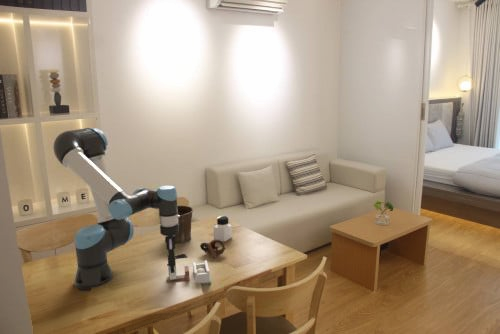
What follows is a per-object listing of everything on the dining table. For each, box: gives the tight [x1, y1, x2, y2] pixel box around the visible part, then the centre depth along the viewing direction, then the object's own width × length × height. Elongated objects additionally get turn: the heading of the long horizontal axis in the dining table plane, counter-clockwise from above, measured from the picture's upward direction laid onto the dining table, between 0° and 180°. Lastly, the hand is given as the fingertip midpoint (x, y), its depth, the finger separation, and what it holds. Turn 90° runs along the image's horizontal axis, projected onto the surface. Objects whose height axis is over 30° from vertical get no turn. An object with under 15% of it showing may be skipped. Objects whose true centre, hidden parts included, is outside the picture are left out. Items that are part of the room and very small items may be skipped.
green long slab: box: [192, 260, 212, 286], centre depth 167 cm, size 31×10×6 cm, turn 102°
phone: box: [175, 253, 189, 260], centre depth 186 cm, size 8×1×15 cm
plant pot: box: [173, 205, 194, 244], centre depth 212 cm, size 16×16×16 cm
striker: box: [166, 253, 191, 283], centre depth 167 cm, size 9×5×11 cm, turn 102°
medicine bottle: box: [213, 215, 233, 243], centre depth 212 cm, size 7×7×12 cm
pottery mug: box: [199, 239, 226, 259], centre depth 193 cm, size 12×10×8 cm
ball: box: [197, 268, 205, 274], centre depth 169 cm, size 4×4×4 cm
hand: (172, 276), depth 167 cm, fingers closed on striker, 3 cm apart
